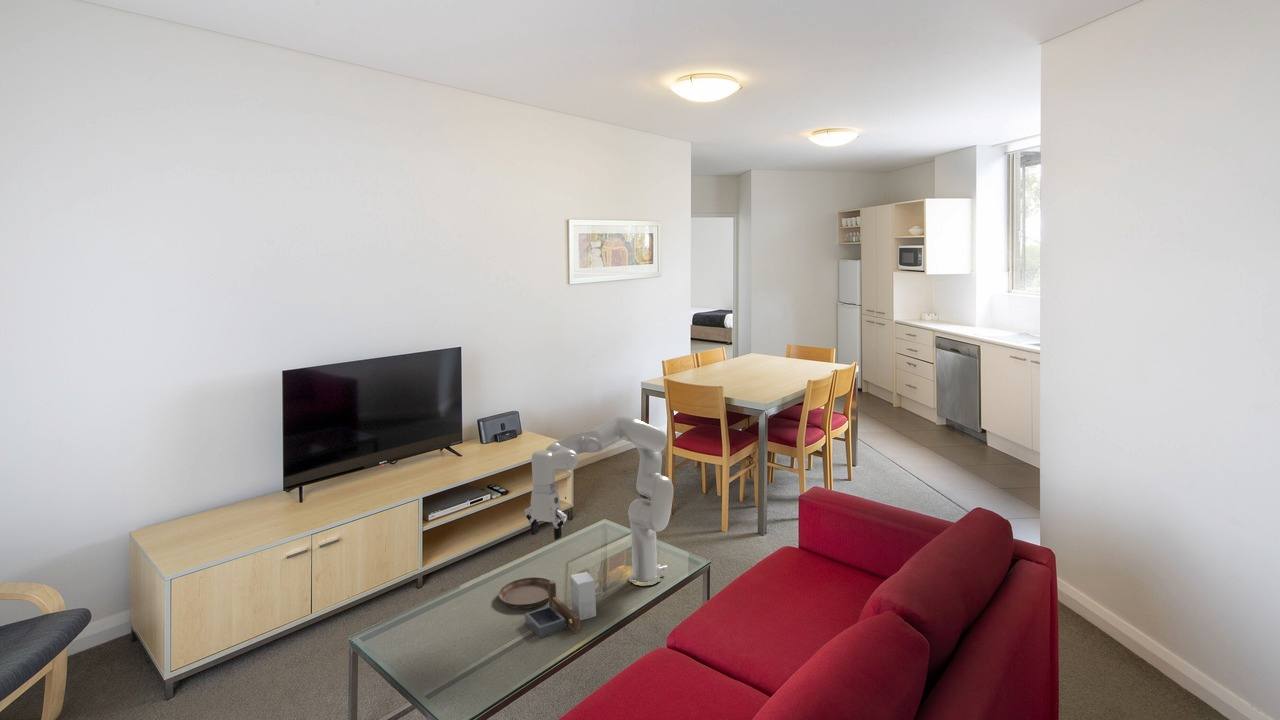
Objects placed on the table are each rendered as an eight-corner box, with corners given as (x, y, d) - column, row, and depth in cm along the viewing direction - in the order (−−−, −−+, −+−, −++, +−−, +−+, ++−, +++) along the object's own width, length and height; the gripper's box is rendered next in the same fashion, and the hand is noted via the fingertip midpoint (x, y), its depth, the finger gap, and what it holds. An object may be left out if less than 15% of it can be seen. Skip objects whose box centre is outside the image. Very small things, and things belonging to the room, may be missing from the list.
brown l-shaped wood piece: (554, 607, 226) (553, 580, 225) (580, 631, 209) (579, 602, 208) (546, 609, 224) (545, 582, 223) (572, 634, 207) (571, 605, 206)
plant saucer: (500, 616, 221) (500, 607, 221) (497, 590, 241) (497, 581, 241) (560, 607, 227) (559, 598, 226) (552, 582, 246) (551, 573, 246)
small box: (596, 616, 219) (595, 580, 217) (579, 621, 216) (577, 584, 215) (588, 606, 226) (586, 571, 225) (571, 610, 223) (569, 575, 222)
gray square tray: (551, 615, 220) (550, 605, 220) (566, 629, 211) (565, 619, 210) (525, 623, 215) (524, 613, 215) (539, 638, 206) (539, 628, 205)
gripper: (571, 487, 215) (573, 536, 217) (530, 481, 223) (533, 528, 225) (558, 493, 209) (560, 544, 210) (517, 487, 217) (519, 535, 219)
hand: (546, 536), depth 218 cm, fingers open, 9 cm apart
